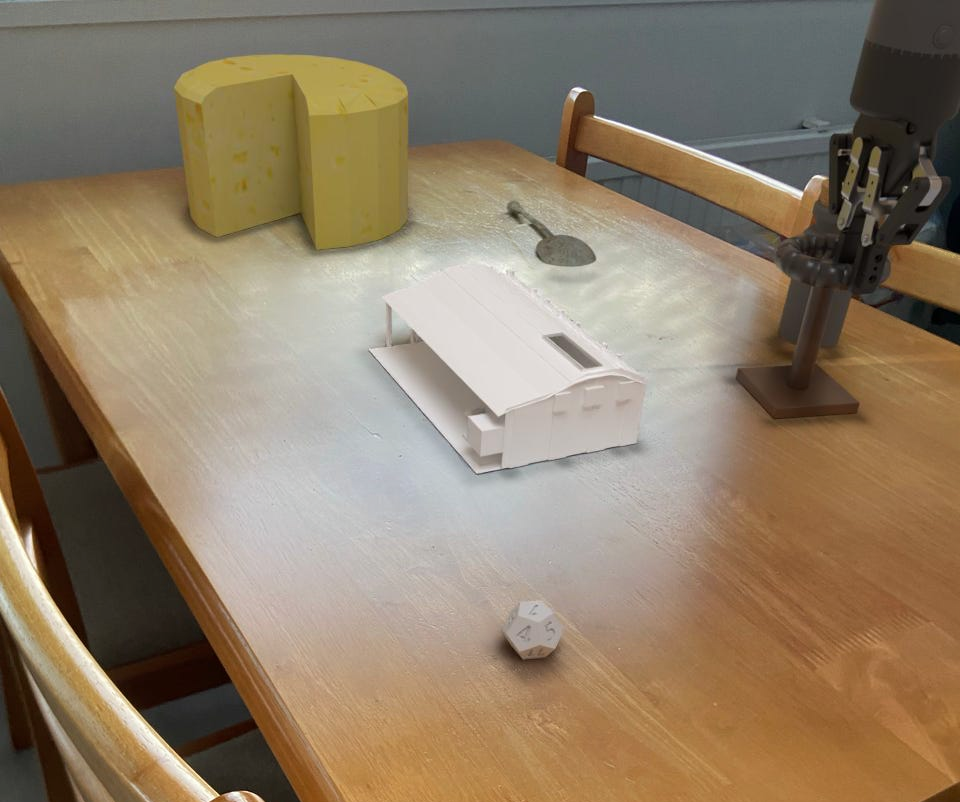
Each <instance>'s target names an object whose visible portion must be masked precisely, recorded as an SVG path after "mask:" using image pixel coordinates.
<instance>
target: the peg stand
mask: <svg viewBox="0 0 960 802" xmlns="http://www.w3.org/2000/svg"><path fill="white" fill-rule="evenodd" d="M835 292H836V290H834V289H827V288H821V287H814V286H812V287H811V291H810V295H809V299H808V303H807V306H806V310H805V314H804V318H803V322H802V325H801V329H800V333H799V337H798V341H797V344H796V345H795V349H794V352H793V356H792V360H791V364H789V365H788V364H787V365H786V364H785V365H774V366H772V365H770V366H755V367H754V366H753V367H752V366H751V367H738V368H737V371H736V375H735V376H736V377H735V379H736V380H737V381H738V383H740V384H741V385H742V386H743V388H745V390H746V391H748V392H749V394H750V395H751V396H752V397H753V398H754V399H755V400H756V402H758V403H759V405H761V406H762V408H763V409H765V411H766V412H767V413H768V414H769V415H770V416H771V418H773V419H788V418H802V417H804V418H805V417H817V416H819V417H820V416H830V415H831V416H832V415H833V416H834V415H846V414H847V415H848V414H857V413H858V411H859V407H860V401H859V400H857V398H856V397H854V396H853V395H852V394H851V393H850V392H848V391H847V389H845V388H844V387H843V386H842V385H841V384H840V383H839V382H838V381H837V380H835V378H833V377H832V376H831V374H829V373H828V372H826V371H825V369H823V368H822V367H821V366H820V365H819V364H818V363H817V360H818V357H819V352H820V346H821V342H822V339H823V335H824V332H825V328H826V324H827V321H828V317H829V314H830V310H831V307H832V303H833V299H834V296H835Z"/></svg>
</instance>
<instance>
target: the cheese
mask: <svg viewBox="0 0 960 802" xmlns="http://www.w3.org/2000/svg"><path fill="white" fill-rule="evenodd" d="M407 87H408V86H407V85H406V84H405V83H404V82H403V81H402V80H401V79H400V78H398V77H397V76H395V75H393V74H392V73H390V72H388V71H386V70H383V69H381V68H380V67H377V66H373V65H370V64H367V63H363V62H360V61H356V60H349V59H344V58H338V57H332V56H331V57H330V56H320V55H309V54H287V53H286V54H285V53H284V54H280V53H279V54H251V55H242V56H241V55H240V56H233V57H225V58H221V59H217V60H216V59H215V60H212V61H208V62H206V63H202V64H200V65H199V66H196V67H195V68H193V69H190V70H188V71H185V72H183V73H182V74H181V75H180V76H179V78H178V79H177V81H176V83H175V84H174V86H173V91H174V100H175V107H176V115H177V116H176V117H177V122H178V130H179V138H180V144H181V153H182V154H181V155H182V160H183V161H182V162H183V168H184V169H183V170H184V176H185V184H186V190H187V200H188V207H189V214H190V218H191V220H192V221H193V223H194V224H195V226H196V227H197V228H198V229H200V230H202V231H204V232H206V233H207V234H210V235H211V236H213V237H215V238H220V237H223V236H226V235H230V234H234V233H237V232H240V231H244V230H246V229H250V228H251V229H252V228H254V227H257V226H260V225H264V224H267V223H271V222H275V221H278V220H281V219H284V218H288V217H292V216H295V215H298V214H301V216H302V219H303V221H304V223H305V226H306V228H307V231H308V233H309V235H310V238H311V241H312V243H313V245H314V248H315V250H316V251H320V250H330V249H341V248H349V247H354V246H359V245H363V244H368V243H372V242H375V241H376V242H377V241H380V240H382V239H384V238H386V237H388V236H391V235H393V234H394V233H396V232H399V231H400V230H401V229H402V228H403V226H404V225H405V224H406V223H407V222H408V221H409V91H408V88H407Z"/></svg>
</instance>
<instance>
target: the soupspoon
mask: <svg viewBox="0 0 960 802" xmlns="http://www.w3.org/2000/svg"><path fill="white" fill-rule="evenodd" d="M506 211H507V213H508V214H510V215H512V216H514V215H517V214H518V215H522V217H524V218H525V219H526V220H527V221H529V223H531V224H532V225H533V226H535V227H536V228H537V229H538V230H539V231H540V232H541V233H542V234H543V236H544V237H545V238H543V239H541V240H540V241H538V242H537V244H536V246H535V247H536V248H535V249H536V253H537V255H538V256H539V258H540V260H541V262H542V263H544V264H546V265H549V266H550V265H551V266H556V267H565V268H568V267H569V268H570V267H571V268H573V267H575V268H577V267H584V266H587V265H591V264H593V263H594V262H596V261H597V256H596V254H595V252H594V250H593V249H592V247H591V246H589V244H587V243H586V242H585V241H584V240H582V239H580V238H578V237H576V236H572V235H567V234H556V235H555V234H554V233H553V232H552V231H551V230H550V229H549V228H547V227H548V226H546V225H544V224H543V223H542V222H540V221H539V220H538V219H537V218H535V217H534V216H532V215H531V214H530V213H529V212H527V211H526V210H525V209H524V207H523V206H522V205H521V203H520V202H519V200H516V199H512V200H509V201H508V202H507V204H506Z"/></svg>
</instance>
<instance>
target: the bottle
mask: <svg viewBox="0 0 960 802" xmlns="http://www.w3.org/2000/svg"><path fill="white" fill-rule="evenodd" d="M843 184H844V182H842V187H843ZM820 185H821V187H820V198H819V199H817V200H815V202H814V203H813V206H812V211H811V214H812V216H814V217H815V218H816V221H815V223H814V224H811V225H810V226H808V227H806V228H805V229H804V230H803V231H802V234H823V233H825V234H833V235H840V232H841V230H839V229H838V226H837V221H838V217H837V215H831V214H830V213H829V178H826V179H823V180H822V181H821V184H820ZM842 198H844V197H843V196H842ZM819 260H823V261H830V262H832V261H833V260H827V259H819ZM811 287H812V286H811V285H808V284H805V283H802V282H799V281H797V280H794V279H791V278H790V281H789V285H788V290H787V293H786V298H785V301H784V306H783V309H782V314H781V318H780V321H779V326H778V330H777V334H778V336H779V337H780V338H781V339H782V340H783V341H785V342H787V343H789V344H792V345H794V346H796V344H797V341H798V337H799V333H800V329H801V325H802V322H803V318H804V314H805V310H806V306H807V303H808V299H809V295H810V291H811ZM853 295H854V294H853V293H851V292H850V291H849V290H836V292H835V296H834V299H833V303H832V307H831V310H830V314H829V317H828V321H827V324H826V328H825V332H824V335H823V339H822V342H821V346H820V349H821V350H822V349H829V348H832V347H835V346H836V345H837V344H838V343H839V341H840V337H841V335H842V330H843V327H844V324H845V320H846V317H847V314H848V310H849V306H850V304H851V300H852V297H853ZM820 349H819V350H820Z"/></svg>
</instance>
